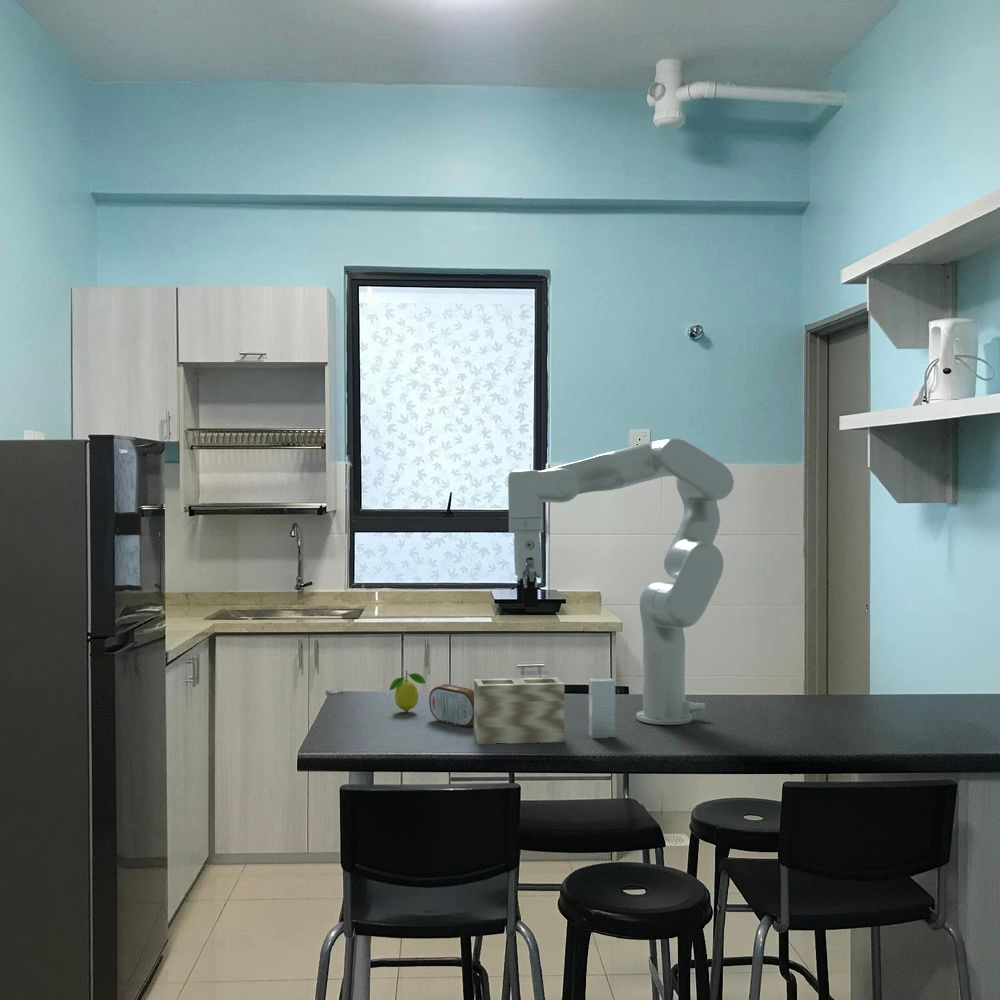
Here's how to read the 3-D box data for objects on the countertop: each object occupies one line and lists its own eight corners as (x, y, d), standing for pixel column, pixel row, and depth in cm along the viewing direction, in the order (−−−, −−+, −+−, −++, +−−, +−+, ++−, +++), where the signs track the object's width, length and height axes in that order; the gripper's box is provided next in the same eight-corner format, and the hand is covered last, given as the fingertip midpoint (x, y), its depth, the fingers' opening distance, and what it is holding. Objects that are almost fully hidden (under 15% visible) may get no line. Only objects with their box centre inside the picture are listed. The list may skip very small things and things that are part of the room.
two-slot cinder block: (556, 733, 216) (556, 677, 216) (564, 741, 208) (564, 684, 208) (473, 735, 214) (474, 679, 214) (478, 744, 206) (478, 685, 206)
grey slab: (611, 734, 215) (611, 678, 215) (615, 737, 212) (615, 680, 212) (588, 735, 215) (588, 678, 215) (592, 738, 212) (592, 681, 212)
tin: (483, 728, 221) (483, 689, 221) (473, 730, 219) (473, 691, 219) (436, 718, 231) (436, 681, 231) (426, 720, 229) (426, 683, 229)
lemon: (425, 711, 239) (425, 669, 239) (412, 715, 233) (412, 672, 233) (401, 708, 242) (402, 667, 242) (388, 712, 236) (388, 670, 237)
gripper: (549, 526, 211) (550, 608, 211) (537, 524, 228) (538, 600, 228) (514, 527, 210) (515, 609, 210) (504, 525, 227) (505, 600, 227)
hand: (527, 604), depth 219 cm, fingers open, 9 cm apart
